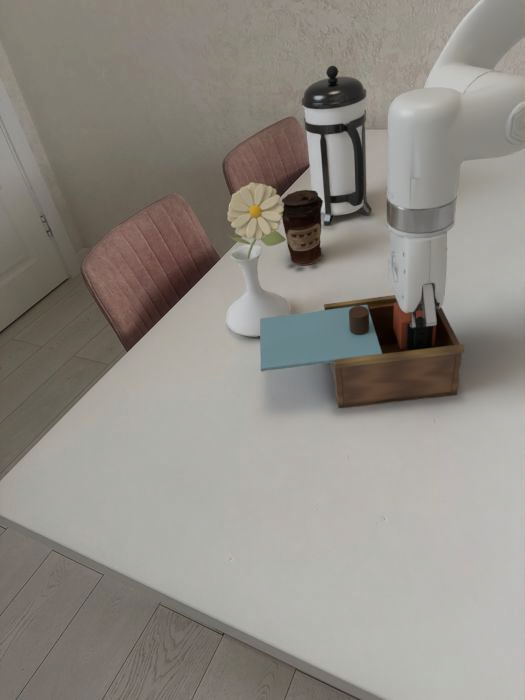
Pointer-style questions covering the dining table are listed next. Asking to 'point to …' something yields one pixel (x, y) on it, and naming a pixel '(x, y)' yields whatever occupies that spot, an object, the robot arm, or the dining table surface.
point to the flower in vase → (254, 256)
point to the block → (405, 325)
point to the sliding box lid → (317, 337)
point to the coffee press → (337, 143)
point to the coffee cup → (303, 226)
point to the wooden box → (397, 362)
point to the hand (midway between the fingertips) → (413, 334)
